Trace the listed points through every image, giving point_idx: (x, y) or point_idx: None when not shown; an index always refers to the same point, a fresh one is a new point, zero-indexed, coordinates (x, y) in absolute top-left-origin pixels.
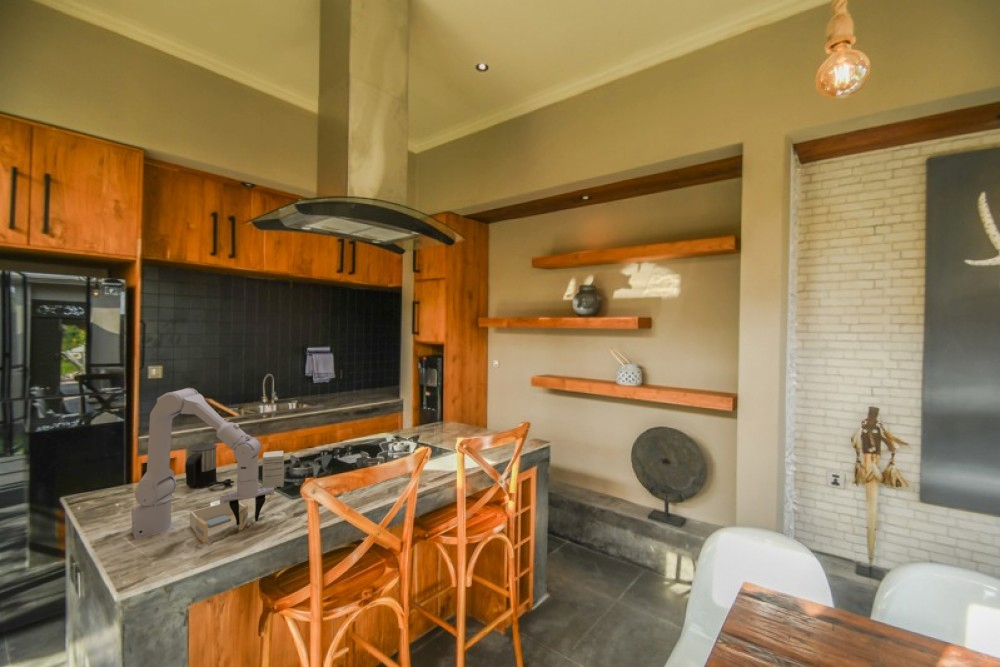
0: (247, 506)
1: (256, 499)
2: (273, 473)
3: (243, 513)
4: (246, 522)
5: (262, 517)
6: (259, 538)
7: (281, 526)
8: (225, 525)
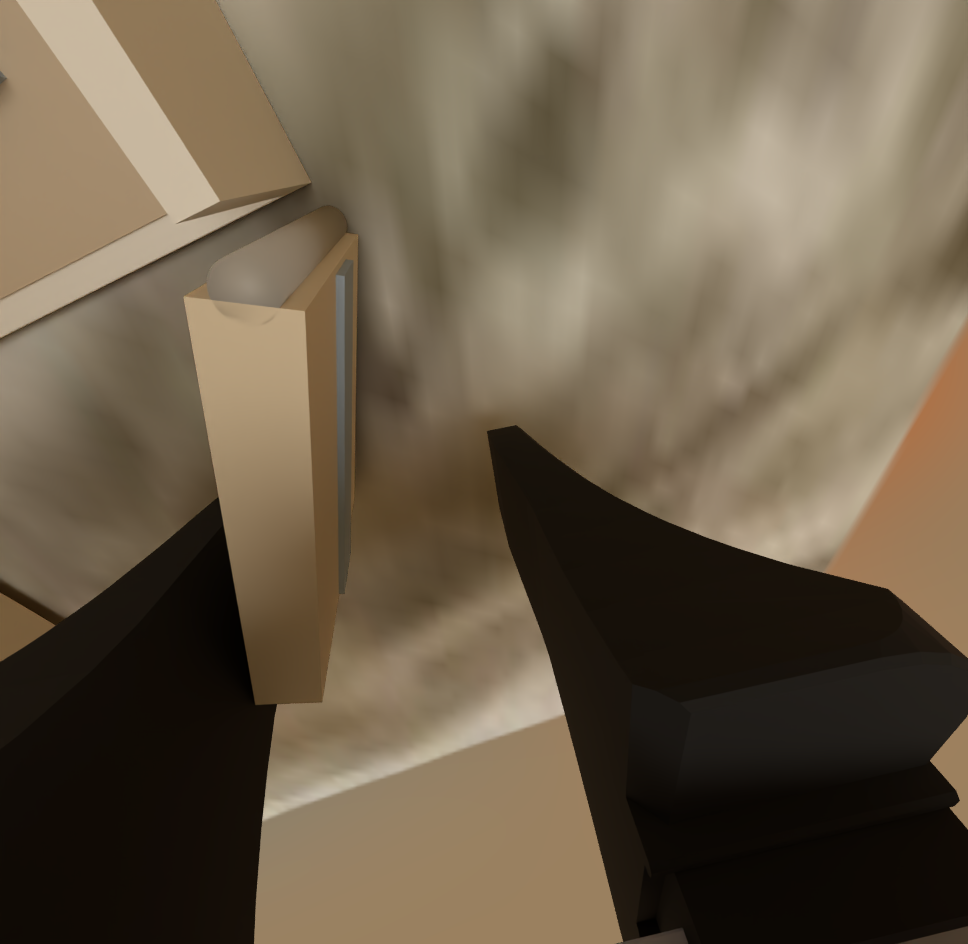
0: (315, 316)
1: (630, 909)
2: None
3: (327, 616)
4: (355, 312)
5: (577, 88)
6: (525, 637)
7: (723, 493)
8: (23, 288)
